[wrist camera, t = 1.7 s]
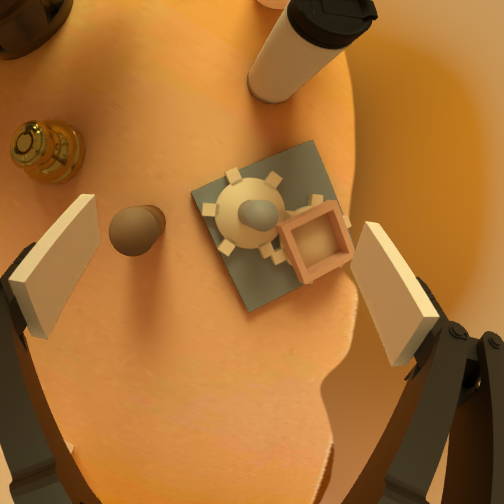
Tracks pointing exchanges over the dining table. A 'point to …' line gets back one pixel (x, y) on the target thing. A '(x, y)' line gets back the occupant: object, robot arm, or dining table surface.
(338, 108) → the dining table surface
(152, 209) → the wooden dowel peg
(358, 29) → the travel mug
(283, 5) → the foam cup
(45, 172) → the salt shaker
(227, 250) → the gear board
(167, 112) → the dining table surface
